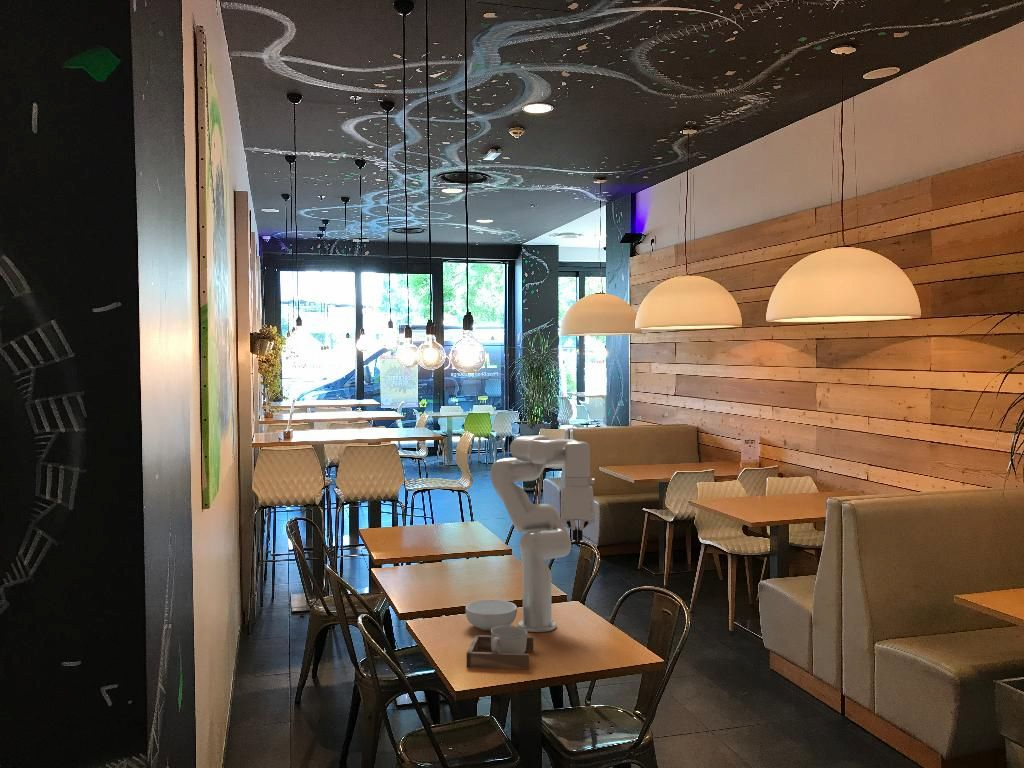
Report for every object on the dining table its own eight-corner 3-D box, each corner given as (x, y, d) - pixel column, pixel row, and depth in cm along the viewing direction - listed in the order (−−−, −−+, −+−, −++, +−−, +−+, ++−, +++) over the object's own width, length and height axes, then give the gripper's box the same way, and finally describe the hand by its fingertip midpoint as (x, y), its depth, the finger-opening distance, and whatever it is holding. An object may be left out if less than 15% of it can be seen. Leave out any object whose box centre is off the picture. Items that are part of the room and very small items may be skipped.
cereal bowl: (455, 631, 267) (455, 609, 267) (481, 617, 282) (481, 597, 282) (501, 638, 259) (501, 616, 259) (525, 624, 274) (525, 603, 274)
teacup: (508, 648, 249) (508, 622, 249) (535, 656, 242) (535, 629, 242) (475, 660, 239) (475, 632, 239) (502, 669, 232) (502, 640, 232)
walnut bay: (475, 648, 250) (475, 635, 250) (533, 650, 248) (533, 637, 248) (466, 667, 233) (466, 653, 233) (528, 669, 232) (528, 655, 231)
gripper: (602, 481, 252) (602, 540, 252) (553, 480, 254) (553, 539, 254) (602, 484, 245) (602, 545, 245) (552, 483, 246) (552, 544, 247)
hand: (577, 542), depth 249 cm, fingers closed
